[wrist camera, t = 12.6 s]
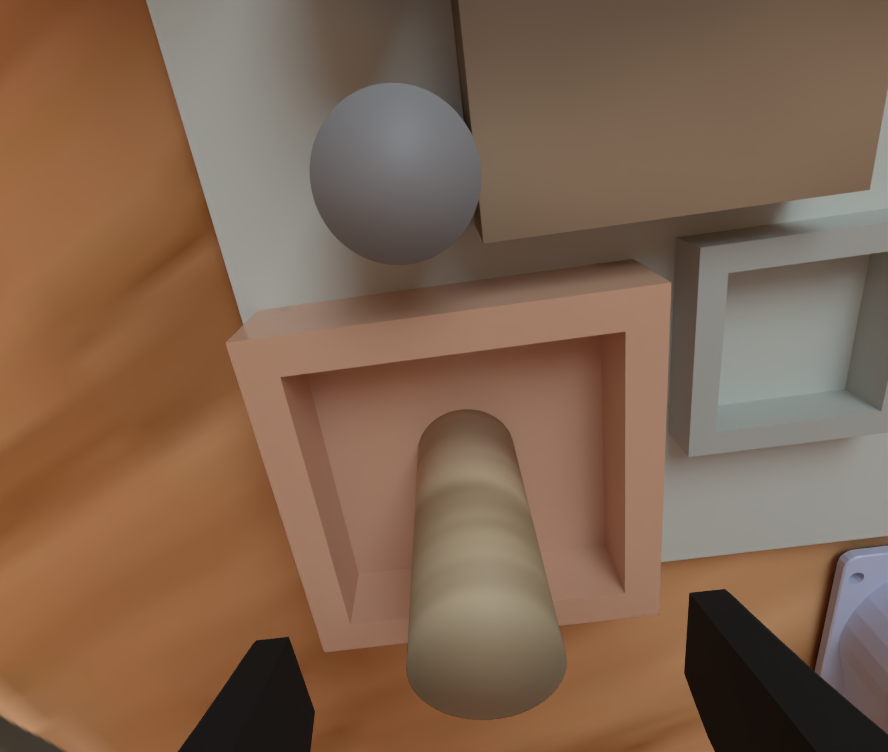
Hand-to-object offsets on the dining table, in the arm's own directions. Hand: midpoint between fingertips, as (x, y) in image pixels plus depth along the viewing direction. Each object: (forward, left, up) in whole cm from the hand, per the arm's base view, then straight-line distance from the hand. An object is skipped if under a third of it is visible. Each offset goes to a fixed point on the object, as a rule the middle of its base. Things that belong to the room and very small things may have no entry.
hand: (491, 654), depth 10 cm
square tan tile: (+10, -5, -7) cm, 14 cm away
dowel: (0, 0, -7) cm, 7 cm away
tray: (0, 0, -7) cm, 7 cm away
